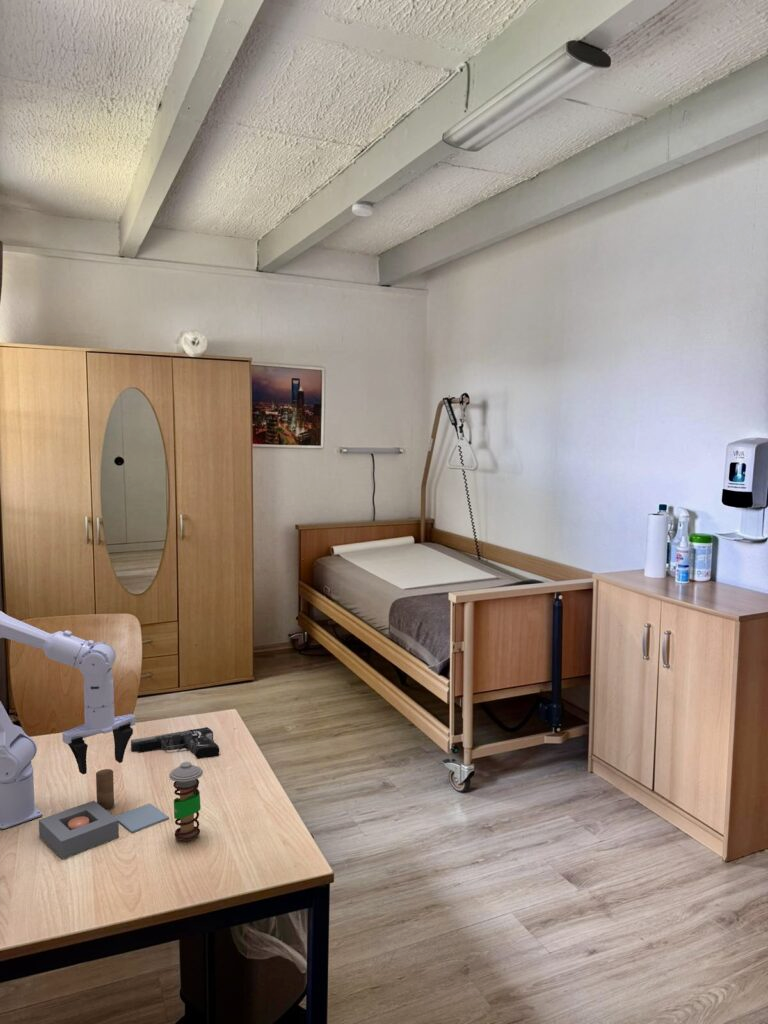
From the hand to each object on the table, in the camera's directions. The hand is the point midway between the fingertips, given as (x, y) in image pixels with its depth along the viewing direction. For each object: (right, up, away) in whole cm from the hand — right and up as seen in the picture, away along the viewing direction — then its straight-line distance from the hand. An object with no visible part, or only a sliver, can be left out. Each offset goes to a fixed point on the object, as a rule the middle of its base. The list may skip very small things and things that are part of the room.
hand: (101, 766), depth 153 cm
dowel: (0, -10, +3) cm, 10 cm away
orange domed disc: (-1, -9, -9) cm, 12 cm away
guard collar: (-1, -11, -9) cm, 14 cm away
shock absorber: (+20, -11, -8) cm, 24 cm away
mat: (+9, -10, -1) cm, 14 cm away
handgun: (+6, -8, +31) cm, 33 cm away
